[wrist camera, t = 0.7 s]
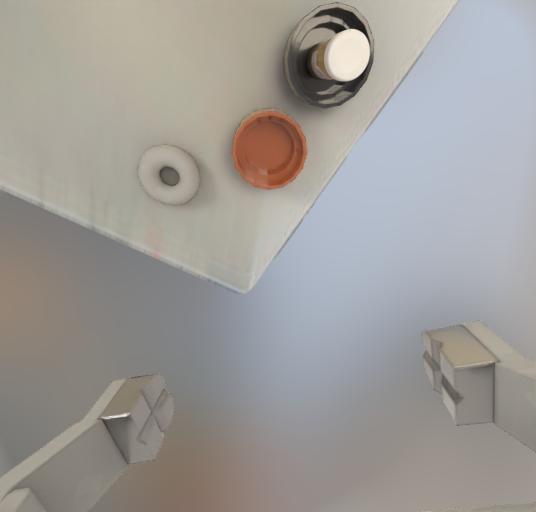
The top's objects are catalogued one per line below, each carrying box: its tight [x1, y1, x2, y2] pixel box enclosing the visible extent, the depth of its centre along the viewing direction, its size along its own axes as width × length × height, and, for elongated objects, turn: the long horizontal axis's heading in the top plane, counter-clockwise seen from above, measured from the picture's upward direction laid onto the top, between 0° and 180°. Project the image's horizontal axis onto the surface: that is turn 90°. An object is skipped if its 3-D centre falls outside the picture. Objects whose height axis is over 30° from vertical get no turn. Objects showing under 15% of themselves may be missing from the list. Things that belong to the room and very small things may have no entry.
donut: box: [138, 145, 200, 205], centre depth 47 cm, size 10×4×10 cm
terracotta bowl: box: [232, 108, 307, 189], centre depth 45 cm, size 11×11×6 cm
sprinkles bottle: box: [307, 29, 370, 81], centre depth 35 cm, size 5×5×13 cm
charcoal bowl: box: [284, 2, 374, 108], centre depth 39 cm, size 11×11×6 cm
